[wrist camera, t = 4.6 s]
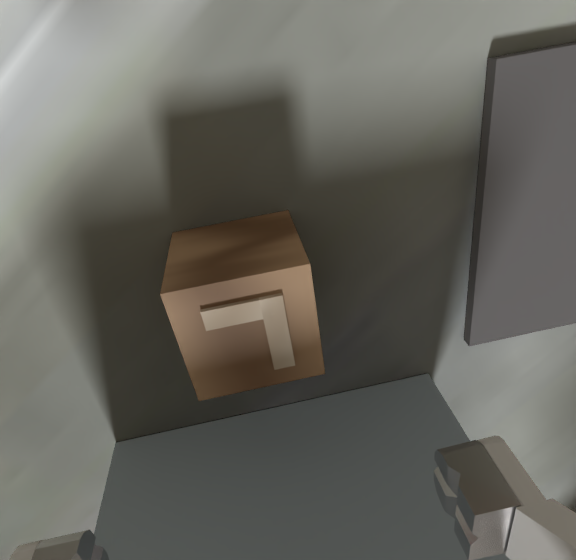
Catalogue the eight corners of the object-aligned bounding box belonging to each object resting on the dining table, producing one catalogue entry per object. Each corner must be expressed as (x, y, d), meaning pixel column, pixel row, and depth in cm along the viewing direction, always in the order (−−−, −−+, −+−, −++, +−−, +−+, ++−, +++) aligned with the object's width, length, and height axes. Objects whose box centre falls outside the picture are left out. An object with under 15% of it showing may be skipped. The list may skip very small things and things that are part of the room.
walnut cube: (287, 209, 18) (311, 266, 14) (302, 303, 21) (326, 376, 17) (172, 231, 18) (159, 296, 14) (201, 324, 21) (198, 404, 16)
